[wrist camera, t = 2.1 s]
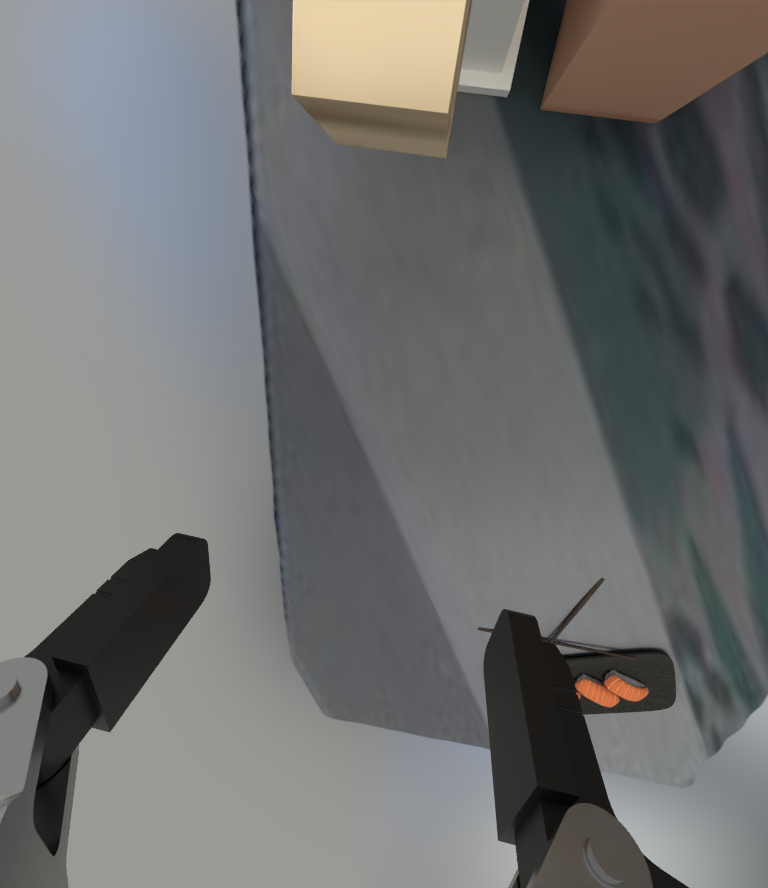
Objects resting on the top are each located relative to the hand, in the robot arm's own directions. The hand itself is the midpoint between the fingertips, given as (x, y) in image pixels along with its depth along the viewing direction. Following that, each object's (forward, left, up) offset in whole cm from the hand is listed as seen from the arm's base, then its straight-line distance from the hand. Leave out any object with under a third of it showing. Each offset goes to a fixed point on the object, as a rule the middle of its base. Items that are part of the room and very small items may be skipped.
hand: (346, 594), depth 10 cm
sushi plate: (+19, +53, -38) cm, 68 cm away
